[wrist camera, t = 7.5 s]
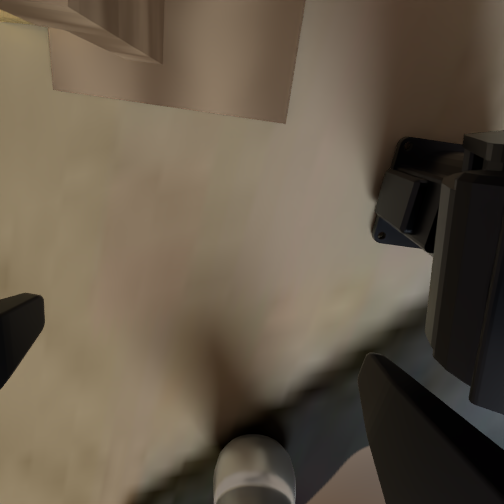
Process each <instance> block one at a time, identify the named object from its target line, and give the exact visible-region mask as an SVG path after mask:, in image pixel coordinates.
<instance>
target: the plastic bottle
mask: <svg viewBox="0 0 504 504" xmlns="http://www.w3.org/2000/svg"><path fill="white" fill-rule="evenodd" d="M213 496H214V504H295V473H294V470H293V466H292V462H291V459H290V456H289V454H288V453H287V452H286V450H285V449H284V448H283V447H282V446H281V445H280V444H279V443H278V442H277V441H276V440H274V439H272V438H270V437H268V436H264V435H259V434H247V435H242V436H239V437H237V438H235V439H233V440H231V441H230V442H229V443H228V444H227V445H226V446H225V447H224V448H223V450H222V451H221V452H220V454H219V457H218V460H217V463H216V467H215V470H214V476H213Z"/></svg>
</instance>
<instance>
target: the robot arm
mask: <svg viewBox="0 0 504 504" xmlns="http://www.w3.org/2000/svg"><path fill="white" fill-rule="evenodd" d="M407 142H409V143H410V147H409V149H408V150H405V149H404V145H405V143H407ZM375 212H376V213H377V218H376V221H375V225H374V228H373V232H372V237H373V239H374V240H375V241H376V242H378V243H383V244H391V245H398V246H405V247H413V248H420V249H423V250H425V251H426V252H427V253H429V254H430V255H431V256H432V257H433V264H432V273H431V281H430V290H429V299H428V308H427V316H426V325H425V333H426V336H427V338H428V341H429V343H430V345H431V347H432V348H433V357H434V358H435V359H436V360H437V361H438V362H439V363H440V364H441V365H442V366H443V367H444V368H445V369H446V370H447V371H448V372H450V373H451V374H452V375H454V376H455V377H457V378H458V379H460V380H461V381H462V382H464V383H465V384H467V385H468V386H470V387H471V388H470V393H469V400H470V402H471V403H473V404H475V405H477V406H480V407H483V408H486V409H489V410H492V411H495V412H498V413H500V414H503V415H504V130H502V131H492V132H482V133H472V134H464V140H463V145H461V144H454V143H447V142H440V141H434V140H427V139H420V138H413V137H404V138H402V139H401V140H400V141H399V142H398V144H397V148H396V151H395V155H394V158H393V162H392V165H391V169H389V170H388V171H386V173H385V176H384V179H383V183H382V187H381V190H380V194H379V197H378V201H377V204H376V208H375ZM380 232H384V235H383V236H382V237H378V234H379V233H380ZM44 323H45V315H44V299H43V297H42V296H41V295H36V294H31V293H22V294H19V295H15V296H11V297H8V298H4V299H0V389H1V388H2V387H3V386H4V384H5V383H6V382H7V381H8V379H9V378H10V377H11V375H12V374H13V372H14V371H15V370H16V368H17V367H18V365H19V364H20V362H21V361H22V359H23V358H24V356H25V355H26V353H27V352H28V350H29V349H30V347H31V346H32V345H33V343H34V342H35V340H36V339H37V337H38V336H39V334H40V333H41V331H42V329H43V327H44ZM358 387H359V393H360V399H361V404H362V410H363V416H364V422H365V428H366V433H367V437H368V441H369V445H370V449H371V452H372V456H373V459H374V463H375V466H376V470H377V474H378V477H379V481H380V484H381V488H382V492H383V495H384V499H385V502H386V504H504V450H503V449H502V448H500V447H499V446H498V445H497V444H495V443H494V442H493V441H492V440H490V439H489V438H488V437H487V436H485V435H484V434H483V433H482V432H480V431H479V430H478V429H477V428H475V427H474V426H473V425H471V424H470V423H469V422H468V421H466V420H465V419H464V418H463V417H461V416H460V415H459V414H458V413H456V412H455V411H454V410H453V409H451V408H450V407H449V406H447V405H446V404H445V403H444V402H442V401H441V400H440V399H439V398H437V397H436V396H435V395H434V394H432V393H431V392H430V391H429V390H427V389H426V388H425V387H424V386H422V385H421V384H420V383H418V382H417V381H416V380H415V379H413V378H412V377H411V376H410V375H408V374H407V373H406V372H405V371H403V370H402V369H401V368H400V367H398V366H397V365H396V364H394V363H393V362H392V361H391V360H389V359H388V358H387V357H386V356H384V355H382V354H376V353H368V354H367V356H366V358H365V360H364V363H363V365H362V368H361V370H360V373H359V375H358Z"/></svg>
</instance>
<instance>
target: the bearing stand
mask: <svg viewBox="0 0 504 504" xmlns="http://www.w3.org/2000/svg"><path fill="white" fill-rule="evenodd" d="M305 1H306V0H0V10H3V11H5V12H7V13H10V14H12V15H14V16H16V17H19V18H21V19H23V20H25V21H28V22H30V23H32V24H34V25H37V26H43V27H48V33H49V46H50V58H51V70H52V83H53V90H58V91H64V92H71V93H78V94H85V95H92V96H99V97H105V98H112V99H119V100H126V101H133V102H140V103H147V104H153V105H160V106H167V107H174V108H181V109H188V110H195V111H201V112H208V113H215V114H222V115H229V116H236V117H243V118H249V119H256V120H263V121H270V122H277V123H284V124H286V118H287V112H288V106H289V100H290V94H291V87H292V81H293V75H294V69H295V63H296V56H297V50H298V44H299V38H300V32H301V25H302V19H303V13H304V7H305Z"/></svg>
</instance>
